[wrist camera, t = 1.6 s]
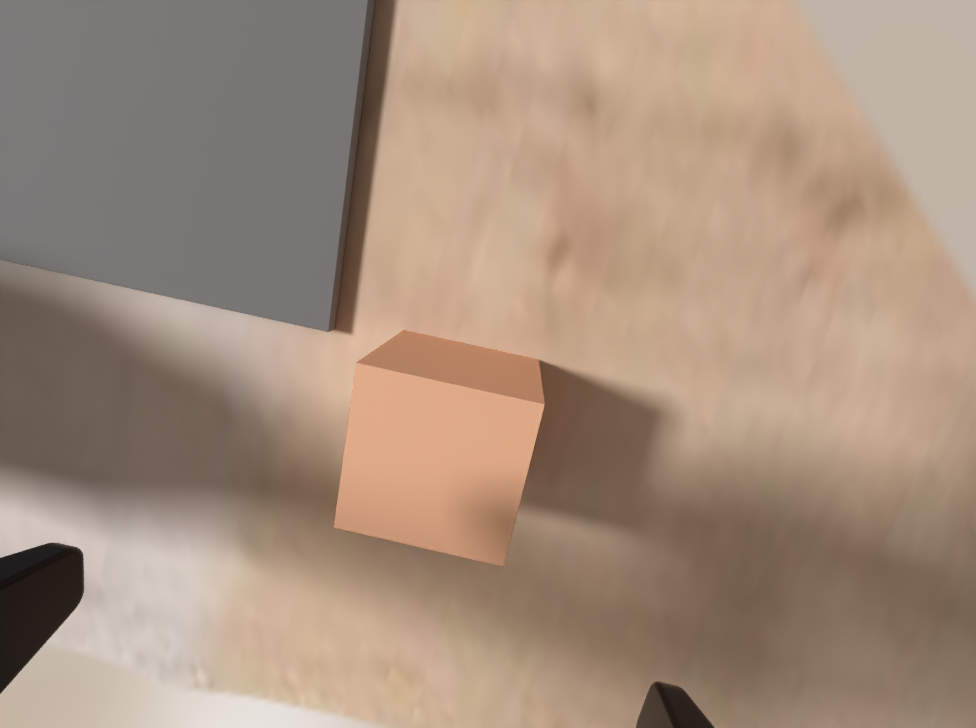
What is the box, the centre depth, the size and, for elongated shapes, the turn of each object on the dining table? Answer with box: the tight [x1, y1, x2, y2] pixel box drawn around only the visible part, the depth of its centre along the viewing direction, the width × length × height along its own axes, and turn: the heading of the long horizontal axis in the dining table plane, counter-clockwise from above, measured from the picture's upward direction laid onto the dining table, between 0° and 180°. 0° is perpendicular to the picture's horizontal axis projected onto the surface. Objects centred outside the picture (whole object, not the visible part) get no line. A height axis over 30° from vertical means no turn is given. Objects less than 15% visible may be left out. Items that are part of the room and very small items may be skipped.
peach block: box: [334, 330, 545, 567], centre depth 15 cm, size 5×5×5 cm
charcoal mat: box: [0, 0, 375, 332], centre depth 15 cm, size 14×14×1 cm
